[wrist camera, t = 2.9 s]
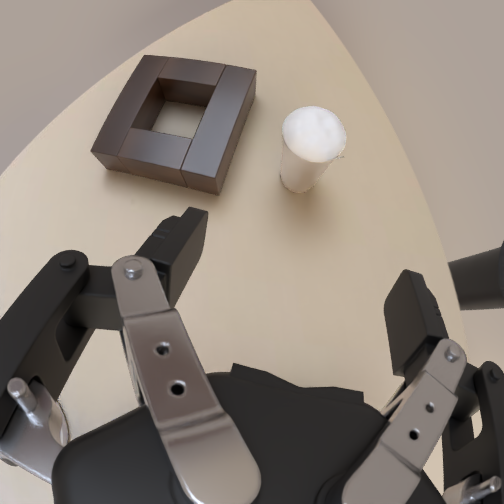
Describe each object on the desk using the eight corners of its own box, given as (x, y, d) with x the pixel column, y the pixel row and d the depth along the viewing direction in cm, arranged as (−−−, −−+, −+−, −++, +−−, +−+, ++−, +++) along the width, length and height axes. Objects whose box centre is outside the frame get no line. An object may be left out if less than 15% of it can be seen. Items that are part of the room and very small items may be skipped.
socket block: (255, 94, 30) (256, 69, 26) (219, 196, 28) (215, 178, 24) (152, 77, 31) (144, 54, 27) (106, 168, 29) (89, 151, 25)
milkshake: (287, 215, 28) (307, 166, 18) (266, 163, 29) (274, 98, 19) (332, 200, 28) (371, 149, 19) (310, 150, 29) (335, 86, 19)
